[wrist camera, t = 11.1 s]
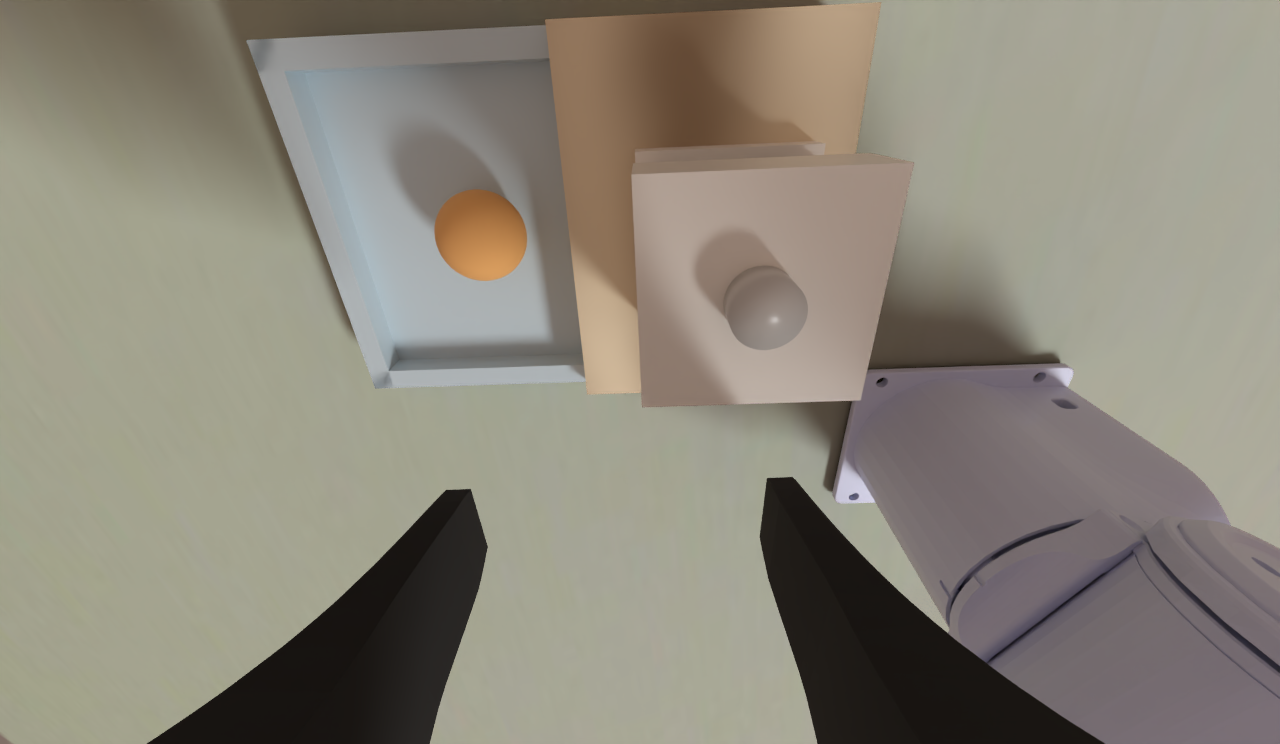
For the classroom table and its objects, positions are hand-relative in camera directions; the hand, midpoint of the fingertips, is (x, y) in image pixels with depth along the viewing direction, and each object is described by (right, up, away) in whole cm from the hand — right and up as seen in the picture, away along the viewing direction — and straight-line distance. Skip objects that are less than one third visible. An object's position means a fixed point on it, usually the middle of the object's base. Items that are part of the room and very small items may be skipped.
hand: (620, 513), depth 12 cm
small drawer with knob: (+3, +8, +4) cm, 9 cm away
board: (+3, +9, +7) cm, 12 cm away
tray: (-6, +9, +7) cm, 13 cm away
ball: (-5, +8, +5) cm, 11 cm away
